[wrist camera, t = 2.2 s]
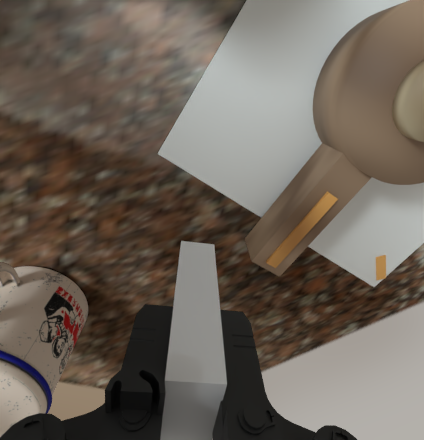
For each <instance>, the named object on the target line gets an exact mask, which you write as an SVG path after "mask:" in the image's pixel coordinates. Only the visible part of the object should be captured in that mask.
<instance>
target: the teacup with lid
mask: <svg viewBox="0 0 424 440" xmlns="http://www.w3.org/2000/svg"><path fill="white" fill-rule="evenodd" d="M87 316H88V303H87V300H86V297H85V295H84V293H83V292H82V290H81V289H80V288H79V287H78V286H77V285H76V284H75V283H74V282H73V281H72V280H70V279H69V278H68V277H66V276H64V275H62V274H60V273H58V272H56V271H53V270H50V269H47V268H42V267H36V266H22V267H16V268H13V267H12V266H10V265H9V264H7V263H3V262H0V437H1V436H2V435H3V434H4V433H5V432H6V431H7V430H8V429H9V428H10V427H11V426H12V425H14V424H15V423H17V422H19V421H20V420H22V419H24V418H25V417H27V416H31V415H35V414H38V413H45V414H47V413H48V411H49V409H50V407H51V403H52V394H53V392H54V390H55V388H56V385H57V383H58V381H59V379H60V377H61V374H62V372H63V370H64V368H65V366H66V363H67V361H68V359H69V357H70V355H71V353H72V350H73V348H74V346H75V344H76V342H77V339H78V337H79V335H80V333H81V331H82V328H83V326H84V324H85V322H86V320H87Z"/></svg>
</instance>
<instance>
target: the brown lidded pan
mask: <svg viewBox="0 0 424 440" xmlns="http://www.w3.org/2000/svg"><path fill="white" fill-rule="evenodd" d="M313 120H314V125H315V129H316V131H317V134H318V137H319V139H320V140H321V142H322V144H321V145H320V146H319V148H318V149H317V150H316V151H315V152H314V154H313V155H312V156H311V157H310V159H309V160H308V161H307V162H306V164H305V165H304V166H303V167H302V168H301V170H300V171H299V172H298V173H297V175H296V176H295V177H294V178H293V180H292V181H291V182H290V183H289V185H288V186H287V187H286V188H285V189H284V191H283V192H282V193H281V194H280V196H279V197H278V198H277V199H276V201H275V202H274V203H273V204H272V206H271V207H270V208H269V209H268V210H267V212H266V213H265V214H264V215H263V217H262V218H261V219H260V220H259V222H258V223H257V224H256V225H255V227H254V228H253V229H252V230H251V231H250V233H249V234H248V235H247V236H246V238H245V242H246V245H247V249H248V252H249V255H250V258H251V261H252V262H254V263H256V264H257V265H259V266H261V267H263V268H265V269H266V270H268V271H270V272H272V273H274V274H275V275H277V276H279V277H280V276H281V275H282V274H283V273H284V271H285V270H286V269H287V268H288V267H289V266H290V265H291V264H292V263H293V262H294V261H295V260H296V259H297V257H298V256H299V255H300V254H301V253H302V252H303V251H304V250H305V249H306V248H307V247H308V246H309V245H310V243H311V242H312V241H313V240H314V239H315V238H316V237H317V236H318V235H319V234H320V233H321V232H322V231H323V229H324V228H325V227H326V226H327V225H328V224H329V223H330V222H331V221H332V220H333V219H334V218H335V216H336V215H337V214H338V213H339V212H340V211H341V210H342V209H343V208H344V207H345V206H346V205H347V204H348V202H349V201H350V200H351V199H352V198H353V197H354V196H355V195H356V194H357V193H358V192H359V191H360V190H361V188H362V187H363V186H364V185H365V184H366V183H367V182H368V181H369V180H370V179H371V178H372V177H373V178H375V179H377V180H379V181H382V182H385V183H389V184H396V185H412V184H419V183H423V182H424V0H409V1H406V2H403V3H401V4H398V5H396V6H393V7H390V8H388V9H385V10H382V11H380V12H378V13H375V14H373V15H371V16H369V17H367V18H366V19H364V20H363V21H361V22H359V23H358V24H357V25H356V26H354V27H353V28H352V29H351V30H349V31H348V32H347V33H346V34H345V35H344V36H343V37H342V38H341V39H340V41H339V42H338V43H337V44H336V46H335V47H334V48H333V50H332V51H331V53H330V54H329V56H328V57H327V59H326V61H325V63H324V65H323V67H322V69H321V71H320V74H319V76H318V79H317V82H316V86H315V90H314V97H313Z"/></svg>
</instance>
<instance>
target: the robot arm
mask: <svg viewBox="0 0 424 440" xmlns="http://www.w3.org/2000/svg"><path fill="white" fill-rule="evenodd" d="M255 347H256V346H255V342H254V339H253V332H252V328H251V323H250V322H249V320H248V319H247V317H246V316H245V315H244V313H243V312H238V311H226V310H220V302H219V291H218V280H217V270H216V259H215V248H214V244H205V243H196V242H187V241H181V247H180V255H179V263H178V271H177V279H176V287H175V296H174V304H173V307H170V306H159V305H147V304H145V305H144V306H143V308H142V309H141V310H140V311H139V312H138V313H137V315H136V318H135V322H134V325H133V330H132V333H131V336H130V341H129V344H128V347H127V351H126V354H125V358H124V362H123V365H122V369H121V371H119V372H118V373H117V374H116V375H115V376H114V377H113V378H112V379H111V380H110V382H109V383H108V385H107V387H106V389H105V403H104V404H103V405H102V406H100V407H99V408H97V409H96V410H94V411H92V412H90V413H87V414H84V415H81V416H78V417H74V418H71V419H67V420H64V421H61V420H60V419H59V418H57V417H55V416H54V415H52V414H45V413H38V414H35V415H31V416H27V417H25V418H24V419H22V420H20V421H19V422H17V423H15V424H14V425H12V426H11V427H10V428H9V429H8V430H7V431H6V432H5V433H4V434H3V435H2V436H1V437H0V440H212V438H213V440H357V439H356V438H355V437H354V436H353V435H351V434H350V433H349V432H347V431H346V430H344V429H342V428H339V427H337V426H324V427H322V428H320V429H319V430H318V431H317V432H316V433H315V432H313V431H311V430H308V429H306V428H303V427H301V426H299V425H296V424H294V423H292V422H290V421H288V420H286V419H284V418H283V417H282V416H281V415H280V414H278V413H277V412H276V410H275V409H274V408H273V407H272V405H271V404H270V402H269V400H268V398H267V395H266V393H265V389H264V384H263V379H262V374H261V370H260V365H259V360H258V356H257V351H256V349H255Z"/></svg>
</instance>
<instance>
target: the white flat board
mask: <svg viewBox="0 0 424 440" xmlns="http://www.w3.org/2000/svg"><path fill="white" fill-rule="evenodd" d="M406 1H409V0H246V2H245V4H244V5H243V7H242V9H241V11H240V12H239V14H238V16H237V17H236V19H235V21H234V23H233V24H232V26H231V28H230V30H229V31H228V33H227V35H226V36H225V38H224V40H223V42H222V43H221V45H220V47H219V48H218V50H217V52H216V54H215V55H214V57H213V59H212V60H211V62H210V64H209V66H208V67H207V69H206V71H205V73H204V74H203V76H202V78H201V79H200V81H199V83H198V85H197V86H196V88H195V90H194V91H193V93H192V95H191V97H190V98H189V100H188V102H187V103H186V105H185V107H184V109H183V110H182V112H181V114H180V116H179V117H178V119H177V121H176V122H175V124H174V126H173V128H172V129H171V131H170V133H169V134H168V136H167V138H166V140H165V141H164V143H163V145H162V146H161V148H160V150H159V152H158V154H159V155H160V156H162V157H164V158H165V159H167V160H169V161H170V162H172V163H173V164H175V165H177V166H178V167H180V168H181V169H183V170H185V171H186V172H188V173H190V174H191V175H193V176H194V177H196V178H198V179H199V180H201V181H203V182H204V183H206V184H207V185H209V186H211V187H212V188H214V189H216V190H217V191H219V192H220V193H222V194H224V195H225V196H227V197H228V198H230V199H232V200H233V201H235V202H237V203H238V204H240V205H241V206H243V207H245V208H246V209H248V210H250V211H251V212H253V213H254V214H256V215H258V216H259V217H261V218H262V217H263V215H264V214H265V213H266V212H267V210H268V209H269V208H270V207H271V206H272V204H273V203H274V202H275V201H276V199H277V198H278V197H279V196H280V194H281V193H282V192H283V191H284V189H285V188H286V187H287V186H288V185H289V183H290V182H291V181H292V180H293V178H294V177H295V176H296V175H297V173H298V172H299V171H300V170H301V168H302V167H303V166H304V165H305V164H306V162H307V161H308V160H309V159H310V157H311V156H312V155H313V154H314V152H315V151H316V150H317V149H318V148H319V146H320V145H321V144H322V142H321V140H320V139H319V137H318V134H317V131H316V129H315V125H314V120H313V97H314V90H315V86H316V82H317V79H318V76H319V74H320V71H321V69H322V67H323V65H324V63H325V61H326V59H327V57H328V56H329V54H330V53H331V51H332V50H333V48H334V47H335V46H336V44H337V43H338V42H339V41H340V39H341V38H342V37H343V36H344V35H345V34H346V33H347V32H348V31H349V30H351V29H352V28H353V27H354V26H356V25H357V24H358V23H359V22H361V21H363V20H364V19H366V18H367V17H369V16H371V15H373V14H375V13H378V12H380V11H382V10H385V9H388V8H390V7H393V6H396V5H398V4H401V3H403V2H406ZM423 243H424V182H423V183H419V184H412V185H396V184H389V183H385V182H382V181H379V180H377V179H375V178H373V177H372V178H371V179H370V180H369V181H368V182H367V183H366V184H365V185H364V186H363V187H362V188H361V190H360V191H359V192H358V193H357V194H356V195H355V196H354V197H353V198H352V199H351V200H350V201H349V202H348V204H347V205H346V206H345V207H344V208H343V209H342V210H341V211H340V212H339V213H338V214H337V215H336V216H335V218H334V219H333V220H332V221H331V222H330V223H329V224H328V225H327V226H326V227H325V228H324V229H323V231H322V232H321V233H320V234H319V235H318V236H317V237H316V238H315V239H314V240H313V241H312V242H311V243H310V245H309V246H308V247H310V248H311V249H313V250H314V251H316V252H318V253H319V254H321V255H323V256H324V257H326V258H327V259H329V260H331V261H332V262H334V263H336V264H337V265H339V266H340V267H342V268H344V269H345V270H347V271H348V272H350V273H352V274H353V275H355V276H357V277H358V278H360V279H361V280H363V281H365V282H366V283H368V284H370V285H371V286H373V287H375V286H376V285H377V284H378V283H379V282H381V281H382V280H383V279H385V278H386V276H387V275H388V274H390V273H391V272H392V271H393V270H394V269H395V268H396V267H397V266H398V265H400V264H401V263H402V262H403V261H404V260H405V259H406V258H407V257H409V256H410V255H411V254H412V253H413V252H414V251H415V250H416V249H417V248H419V247H420V246H421V245H422V244H423Z"/></svg>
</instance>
